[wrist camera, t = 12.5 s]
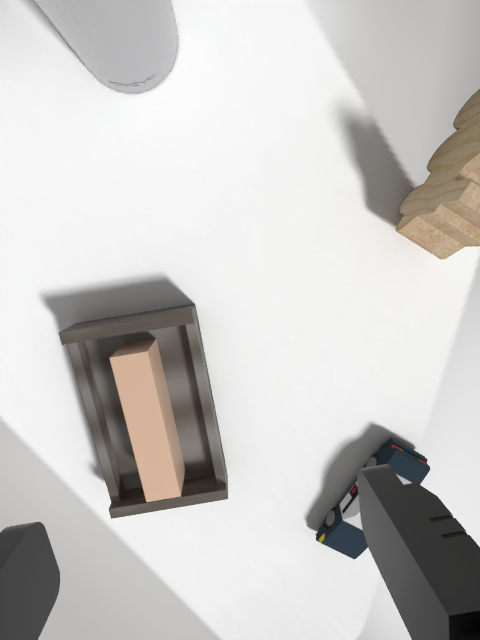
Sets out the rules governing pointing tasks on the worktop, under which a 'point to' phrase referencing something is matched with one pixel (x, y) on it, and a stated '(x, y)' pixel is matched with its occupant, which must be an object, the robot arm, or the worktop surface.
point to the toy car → (345, 519)
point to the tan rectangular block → (149, 418)
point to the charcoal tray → (185, 396)
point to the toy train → (448, 191)
